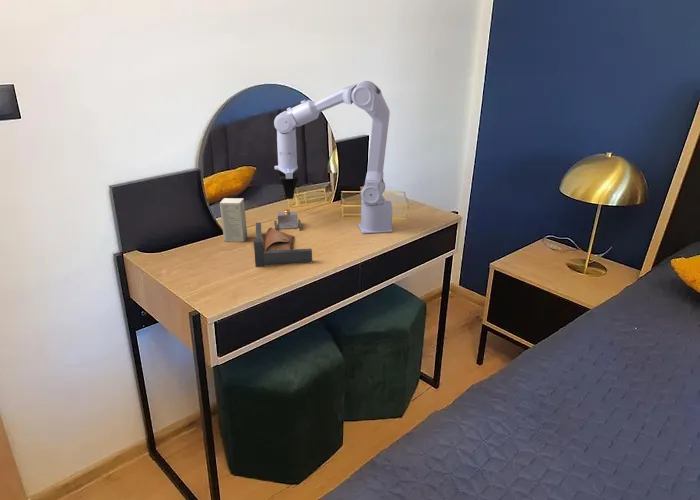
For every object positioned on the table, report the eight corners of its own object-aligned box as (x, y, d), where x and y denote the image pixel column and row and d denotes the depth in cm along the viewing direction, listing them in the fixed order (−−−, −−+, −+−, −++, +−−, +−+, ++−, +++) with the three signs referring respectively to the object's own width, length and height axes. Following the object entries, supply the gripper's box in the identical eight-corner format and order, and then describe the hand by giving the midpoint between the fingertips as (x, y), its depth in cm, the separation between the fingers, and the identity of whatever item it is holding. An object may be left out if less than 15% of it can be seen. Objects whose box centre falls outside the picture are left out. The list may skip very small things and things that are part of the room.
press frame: (303, 222, 182) (302, 202, 179) (312, 263, 154) (311, 239, 151) (254, 225, 180) (253, 204, 177) (255, 266, 151) (253, 242, 149)
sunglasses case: (294, 259, 155) (280, 240, 153) (272, 272, 156) (259, 254, 154) (294, 235, 172) (282, 218, 169) (275, 247, 173) (262, 230, 170)
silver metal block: (297, 224, 180) (296, 208, 178) (297, 227, 177) (297, 211, 175) (278, 225, 179) (277, 209, 177) (278, 228, 177) (277, 212, 174)
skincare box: (247, 236, 171) (244, 198, 166) (243, 242, 167) (240, 203, 162) (227, 235, 172) (223, 197, 167) (222, 241, 168) (219, 202, 163)
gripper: (272, 146, 178) (274, 188, 184) (274, 158, 165) (277, 202, 170) (295, 146, 179) (296, 187, 185) (299, 157, 166) (300, 201, 172)
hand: (288, 194), depth 178 cm, fingers open, 7 cm apart
